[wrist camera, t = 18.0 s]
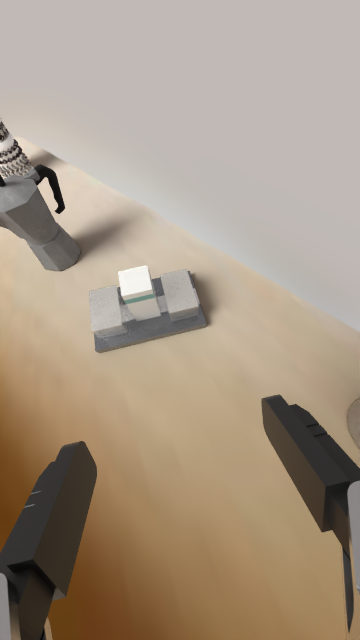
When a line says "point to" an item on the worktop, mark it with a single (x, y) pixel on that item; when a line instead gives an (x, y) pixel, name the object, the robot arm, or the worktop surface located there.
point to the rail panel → (123, 330)
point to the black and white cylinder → (11, 155)
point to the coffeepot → (37, 218)
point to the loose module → (139, 293)
